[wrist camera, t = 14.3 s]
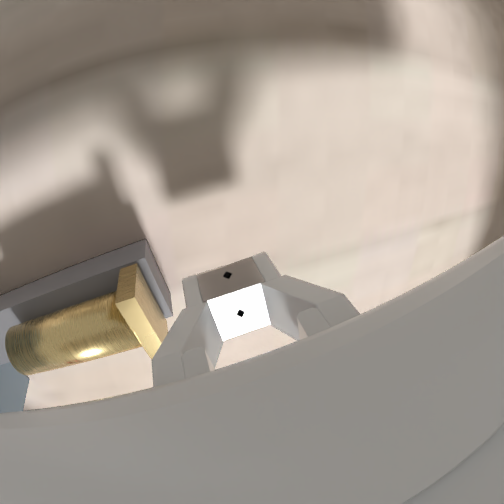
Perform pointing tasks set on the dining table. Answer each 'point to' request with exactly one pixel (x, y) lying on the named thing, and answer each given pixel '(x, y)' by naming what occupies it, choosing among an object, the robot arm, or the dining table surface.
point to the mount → (70, 303)
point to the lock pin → (90, 328)
